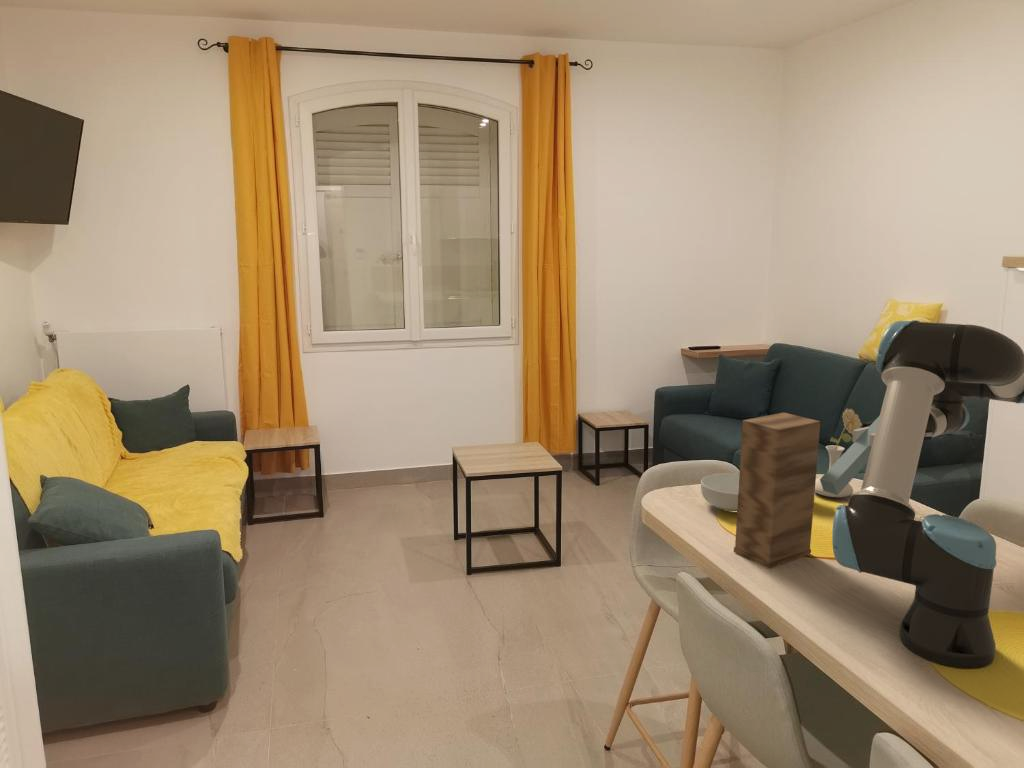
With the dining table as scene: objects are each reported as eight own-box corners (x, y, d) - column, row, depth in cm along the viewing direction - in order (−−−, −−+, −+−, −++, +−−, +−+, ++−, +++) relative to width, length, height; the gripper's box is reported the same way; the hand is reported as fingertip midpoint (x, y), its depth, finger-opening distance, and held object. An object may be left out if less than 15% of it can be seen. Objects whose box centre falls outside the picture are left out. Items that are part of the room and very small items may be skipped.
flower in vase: (827, 502, 212) (834, 415, 207) (801, 489, 223) (808, 405, 218) (866, 498, 216) (875, 412, 211) (839, 485, 226) (847, 403, 221)
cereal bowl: (697, 515, 203) (699, 489, 202) (701, 494, 219) (702, 470, 218) (764, 522, 199) (766, 496, 197) (763, 500, 214) (765, 476, 213)
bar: (897, 429, 178) (894, 417, 176) (837, 495, 169) (833, 483, 168) (883, 426, 181) (880, 414, 179) (823, 490, 172) (819, 479, 171)
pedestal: (810, 554, 179) (821, 421, 172) (769, 568, 171) (779, 430, 165) (774, 539, 187) (783, 412, 181) (733, 552, 180) (741, 420, 174)
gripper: (954, 447, 180) (895, 463, 168) (888, 431, 194) (829, 445, 181) (957, 416, 178) (898, 430, 166) (890, 402, 192) (831, 414, 180)
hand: (862, 438), depth 174 cm, fingers closed on bar, 3 cm apart
